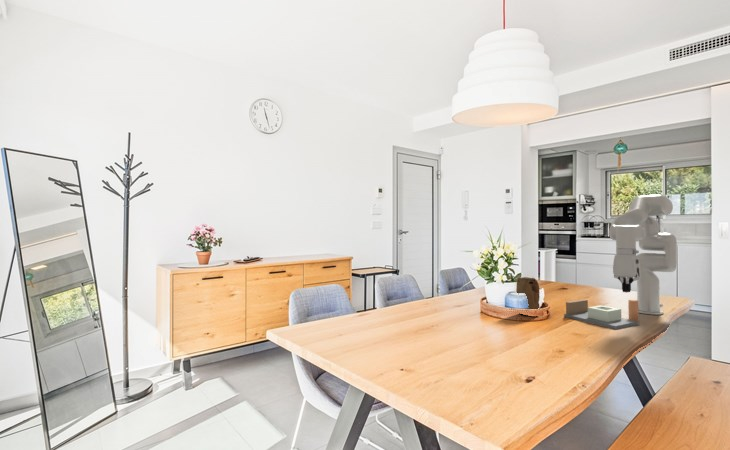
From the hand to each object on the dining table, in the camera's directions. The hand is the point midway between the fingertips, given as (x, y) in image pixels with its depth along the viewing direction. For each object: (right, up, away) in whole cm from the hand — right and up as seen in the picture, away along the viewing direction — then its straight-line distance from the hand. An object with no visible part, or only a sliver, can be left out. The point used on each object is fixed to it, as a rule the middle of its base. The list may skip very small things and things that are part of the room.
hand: (626, 291), depth 174 cm
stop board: (-5, -16, +12) cm, 21 cm away
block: (-34, -17, +25) cm, 46 cm away
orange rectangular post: (+11, -16, +10) cm, 22 cm away
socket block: (-4, -15, +10) cm, 18 cm away
